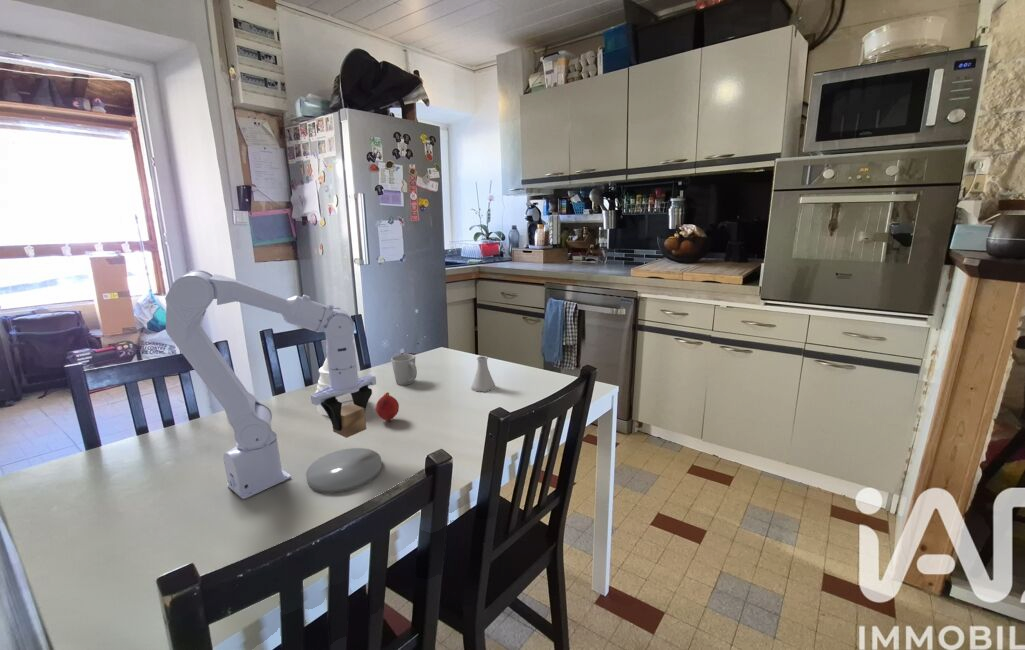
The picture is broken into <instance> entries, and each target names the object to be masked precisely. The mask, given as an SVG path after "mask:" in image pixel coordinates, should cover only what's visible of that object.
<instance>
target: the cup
mask: <svg viewBox="0 0 1025 650" xmlns="http://www.w3.org/2000/svg"><path fill="white" fill-rule="evenodd" d="M390 361H391V366H392V371H393V375H394V379H395V382H396V384H397V385H398V386H409V385H412V384H413V383H414V382H415V380H416V378H417V373H418V372H417V370H418V369H417V366H416V355H415V354H411V353H402V354H397V355H394V356H392V357H391V359H390Z"/></svg>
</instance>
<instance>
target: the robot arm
mask: <svg viewBox="0 0 1025 650" xmlns="http://www.w3.org/2000/svg"><path fill="white" fill-rule="evenodd" d="M164 299H165V304H166V305H165V306H166V309H165V315H166V316H165V331H166V334H167V336H169V338H170V339H171V341H172V342H173V343H174V345H175V346H176V347H177V349H178V350H179V352H181V354H182V355H183V356H184V357H185V359H186V360H187V362H188V364H190V365H191V367H192V369H193V370H194V371H195V372H196V374H197V375H198V376H199V378H201V380H202V382H203V383H204V384H205V385H206V387H207V388H208V389H209V391H210V393H212V395H213V396H214V398H216V400H217V401H218V403H219V404H220V406H222V408H223V410H224V411H225V412H224V413H225V415H226V418H227V420H228V423H229V424H230V426H231V427H232V429H233V434H234V440H235V446H234V447H232V448H231V449H230V450H228V451H226V452H224V453H223V465H224V469H225V475H226V480H227V483H226V486H227V487H228V488H229V489H230V490H231V491H233V492H234V493H235V494H236V495H238V496H239V497H240V498H241V499H243V500H245V499H248V498H249V497H252V496H254V495H256V494H258V493H260V492H263V491H266V490H267V489H269V488H271V487H273V486H276V485H279V484H280V483H282V482H285V481H287V480H289V479H290V478H292V475H291V474H289V473H288V472H286V471H285V470H283V469H282V468H283V467H282V461H281V454H280V450H279V444H278V438H277V433H276V432H275V431H274V430H273V429H272V419H273V418H272V417H273V413H272V410H271V409H270V408H269V406H268V405H266V404H264V403H262V402H261V401H259V400H258V399H257V398H256V397H255V395H254V394H252V393H250V392H249V391H248V390H247V389H246V387H245V386H244V384H243V383H242V381H241V380H240V379H239V377H238V376H237V374H236V373H235V372H234V370H233V369H232V367H231V366H230V365H229V363H228V362H227V361H226V358H224V356H223V355H222V353H221V352H220V351H219V350H218V347H216V345H215V344H214V342H213V341H212V340H211V338H210V337H209V335H208V334H207V333H206V331H205V330H204V329H203V327H202V323H203V320H204V317H205V315H206V312H207V309H208V308H209V306H210V305H211V304H212V303H213V301H214V300H216V305H217V306H220V305H224V304H229V303H234V302H237V303H241V304H245V305H248V306H252V307H255V308H260V309H261V310H267V311H269V312H272V313H273V312H274V313H277V314H280V315H281V316H282V318H283V320H284V322H286V323H288V324H290V325H293V326H297V327H300V328H303V329H306V330H309V331H312V332H316V333H324V334H325V341H326V343H325V344H326V346H325V352H326V358H327V362H328V370H329V379H330V386H328V387H326V388H324V389H322V390H320V391H319V392H317V393H316V392H314V393H311V394H310V402H311V404H312V405H315V406H317V405H321V406H322V407H323V408H324V410H325V411H326V413H327V414H328V416H327V417H328V418H329V419H330V422H331V425H332V429H333V428H334V429H336V430H338V431H340V430H342V422H341V407H342V403H341V402H338V400H337V399H336V397H338V396H341V395H344V394H347V393H351V395H352V399H353V403H354V404H355V405H357V406H360V407H362V408H364V410H365V412H366V410H367V406H368V403H369V400H370V398H371V396H372V394H373V389H372V388H369V387H370V386H373V387H374V386H376V385H377V378H376V377H377V376H376V375H372V374H368V375H365V376H360V377H359V375H358V367H357V363H358V362H357V355H356V344H355V343H354V333H355V331H356V325H355V324H354V320H353V319H352V317H351V316H350V315H349V313H348V312H346V311H345V310H343V309H342V308H340V307H334V306H335V305H333V304H329V303H328V304H327V305H326V304H322V303H320V302H317V301H314V300H311V296H309V295H306V294H303V295H302V296H299V295H293V296H291V297H288V298H286V297H283V296H280V295H278V294H275V293H272V292H270V291H267V290H265V289H261V288H260V287H256V286H254V285H251V284H248V283H246V282H243V281H240V280H238V279H235V278H231V277H228V276H225V275H221V274H217V273H215V274H212V273H210V272H208V271H205V270H199V269H196V270H190V271H188V272H185V273H184V275H182V276H180V277H178V278H176V280H175V281H174V282H173V283H172V284H171V286H170V288H169V290H168V292H167V294H166V296H165V297H164Z"/></svg>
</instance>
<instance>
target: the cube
mask: <svg viewBox="0 0 1025 650" xmlns="http://www.w3.org/2000/svg"><path fill="white" fill-rule="evenodd" d="M341 422H342V430H340V431H338V430H336V429H334V428H333V427H332V431H333V432H334V433H336V434H337V435H340V436H342V437H344V438H346V439H347V438H349V437H351V436H355V435H356V434H359V433H362V432H363V431H365V430H367V420H366V411H365V410H364V408H362V407H360V406H357V405H355V404H352V403H350V404H347V405H344V406H342V407H341Z"/></svg>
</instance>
